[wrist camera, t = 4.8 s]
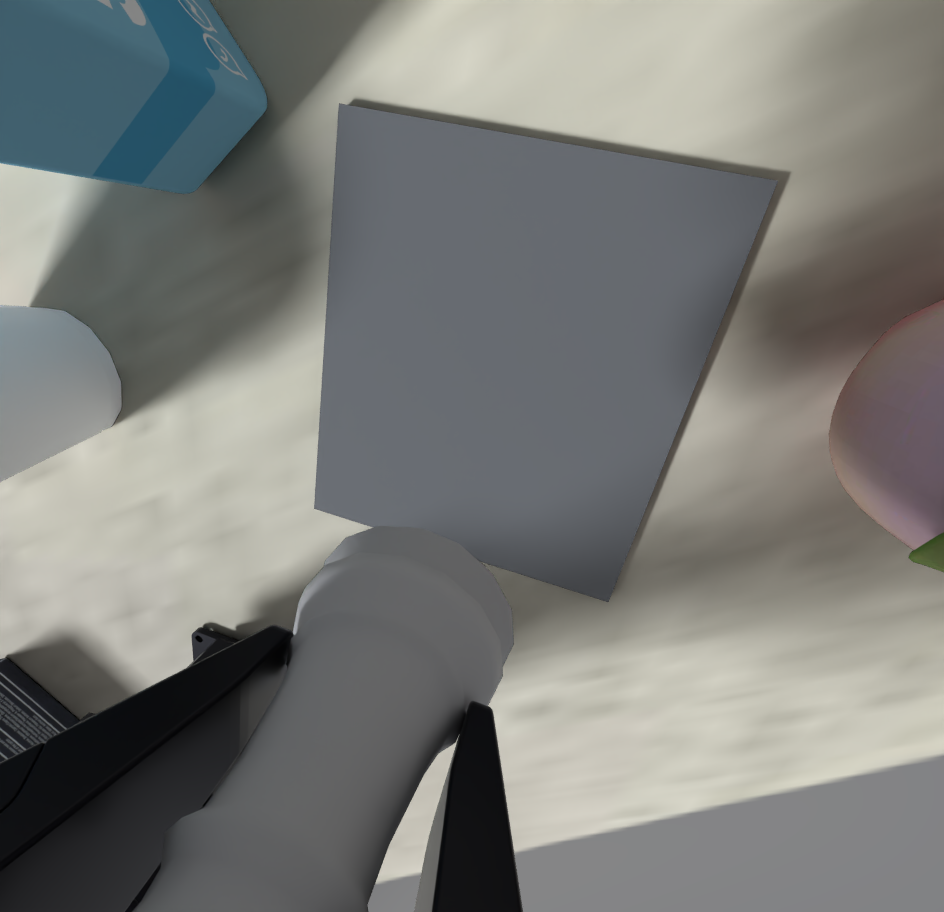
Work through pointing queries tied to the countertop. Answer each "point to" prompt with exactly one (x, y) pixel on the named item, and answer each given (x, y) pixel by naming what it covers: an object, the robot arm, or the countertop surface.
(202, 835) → the rook chess piece
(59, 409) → the foam cup
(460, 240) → the mat
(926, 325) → the decorative fruit
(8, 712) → the small box
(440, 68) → the countertop surface
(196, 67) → the data package
